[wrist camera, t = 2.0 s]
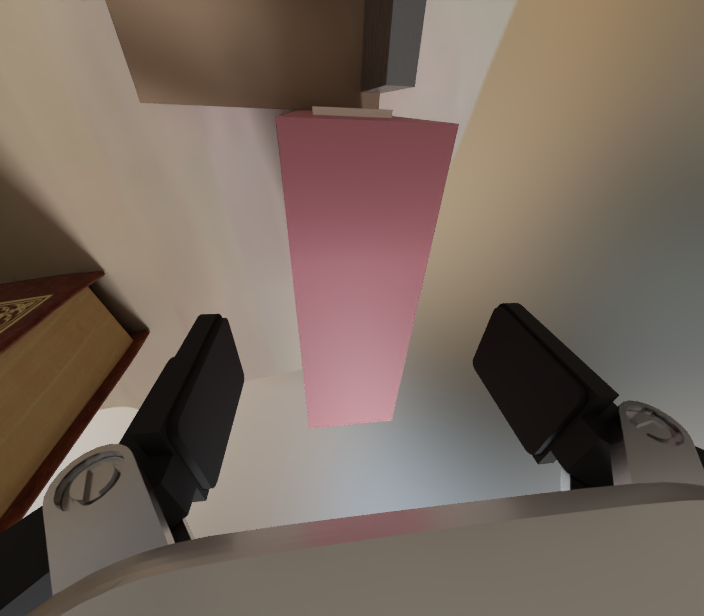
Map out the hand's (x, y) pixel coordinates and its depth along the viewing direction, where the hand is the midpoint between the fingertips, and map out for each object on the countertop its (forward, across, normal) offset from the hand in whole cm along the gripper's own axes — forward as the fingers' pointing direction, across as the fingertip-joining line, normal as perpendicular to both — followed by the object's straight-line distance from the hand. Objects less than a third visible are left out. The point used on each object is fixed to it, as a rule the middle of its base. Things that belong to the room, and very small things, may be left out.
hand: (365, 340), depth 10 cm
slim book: (+16, 0, -1) cm, 16 cm away
